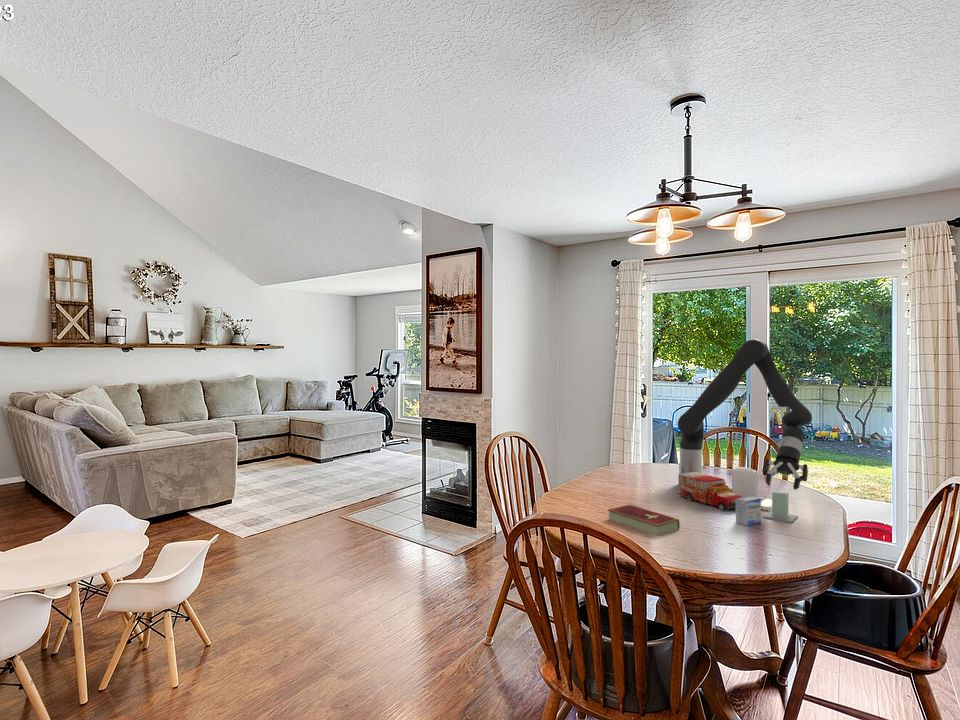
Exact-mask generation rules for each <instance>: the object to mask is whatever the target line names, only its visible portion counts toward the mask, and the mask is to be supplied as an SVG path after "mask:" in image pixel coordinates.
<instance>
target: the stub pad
mask: <svg viewBox="0 0 960 720" xmlns="http://www.w3.org/2000/svg"><path fill="white" fill-rule="evenodd" d="M788 514H789V516H788V517H787V518H783V517H778V516H773V515H772V511H768V512H767V513H765V514H764V515H763V516H762V518H764V519H767V518H769V519H768V520H772V519H773V520H772V521H777V522H783V523H788V522H789V524H793V523H794V522H795V521H796V520H797V519H798V518H797V517H799V516H798V515H795V514H791V513H788ZM796 518H797V519H796ZM795 519H796V520H795ZM794 520H795V521H794ZM793 521H794V522H793ZM792 522H793V523H792Z"/></svg>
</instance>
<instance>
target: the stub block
mask: <svg viewBox="0 0 960 720" xmlns="http://www.w3.org/2000/svg"><path fill="white" fill-rule="evenodd" d="M771 492H772V493H771V495H772V496H771V497H772V498H771V500H772V515H773V516H778V517H783V518H787V517H788V516H789V514H790V513H789V492H784V491H779V490H773V491H771Z"/></svg>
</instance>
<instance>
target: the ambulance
mask: <svg viewBox="0 0 960 720" xmlns="http://www.w3.org/2000/svg"><path fill="white" fill-rule="evenodd" d="M732 492H733V491H732V488H730V487H729V485H727V482H725V479H724V478H720V477H718V476H714V475H710V474H705V473H703V472H702V473H698V472H689V473H682V474H679V473H678V493H677V495H679V496H682V497H685V498H686V500H687V501H689V500H690V502H692V501H693V500H695V501H697V502H700V503H703V504H709V505H712V506H715V507H718V509H720V511H722V510H723V512H726V511H729V509H734V510H736V499H738V498H743V497H741V496H739V495H736V494H734V493H732ZM693 502H694V501H693ZM725 510H726V511H725Z"/></svg>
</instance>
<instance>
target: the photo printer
mask: <svg viewBox="0 0 960 720" xmlns="http://www.w3.org/2000/svg"><path fill="white" fill-rule="evenodd" d="M731 489H732V491H733V492H732V493H734V494H736V495H739V496H741V497H748V496H752V497H757V498H760V497H759V473H758V471H757V470H755V469H753V468H749V467H745V466H738V467H733V468H732V470H731Z"/></svg>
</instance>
